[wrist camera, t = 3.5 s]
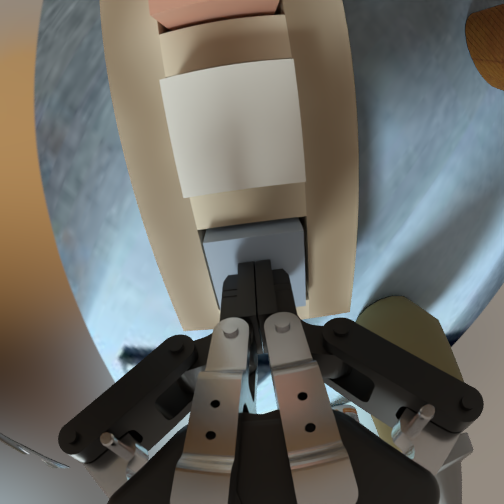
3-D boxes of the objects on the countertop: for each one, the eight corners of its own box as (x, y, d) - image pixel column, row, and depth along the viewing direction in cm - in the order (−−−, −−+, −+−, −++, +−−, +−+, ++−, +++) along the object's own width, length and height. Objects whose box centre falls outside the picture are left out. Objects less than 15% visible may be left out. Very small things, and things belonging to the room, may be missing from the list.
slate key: (292, 201, 15) (303, 230, 12) (296, 268, 17) (305, 305, 14) (211, 212, 15) (202, 243, 12) (225, 276, 17) (222, 315, 15)
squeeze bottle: (389, 352, 25) (441, 510, 10) (324, 344, 23) (363, 544, 8) (437, 292, 21) (527, 464, 6) (372, 273, 19) (473, 514, 4)
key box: (302, -54, 8) (317, -85, 4) (333, 272, 19) (349, 311, 16) (127, -26, 8) (99, -49, 5) (192, 289, 20) (183, 331, 16)
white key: (280, 68, 10) (293, 58, 7) (291, 160, 13) (305, 181, 10) (181, 83, 10) (159, 79, 8) (198, 172, 13) (183, 198, 10)
